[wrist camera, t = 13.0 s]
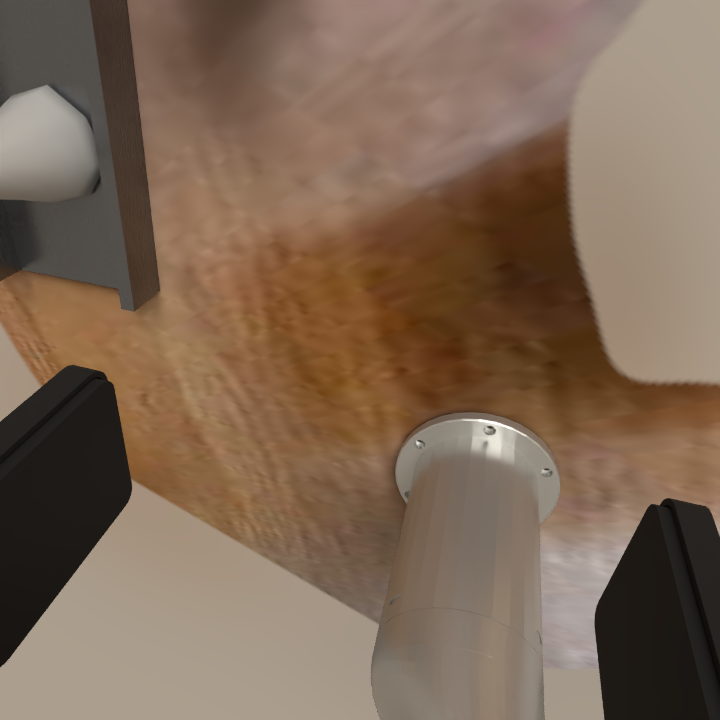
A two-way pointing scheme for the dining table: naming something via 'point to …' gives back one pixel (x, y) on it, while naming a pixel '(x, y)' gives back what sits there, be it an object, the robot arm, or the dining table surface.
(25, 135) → the flask
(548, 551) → the dining table surface
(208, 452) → the dining table surface
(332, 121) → the dining table surface
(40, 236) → the track
